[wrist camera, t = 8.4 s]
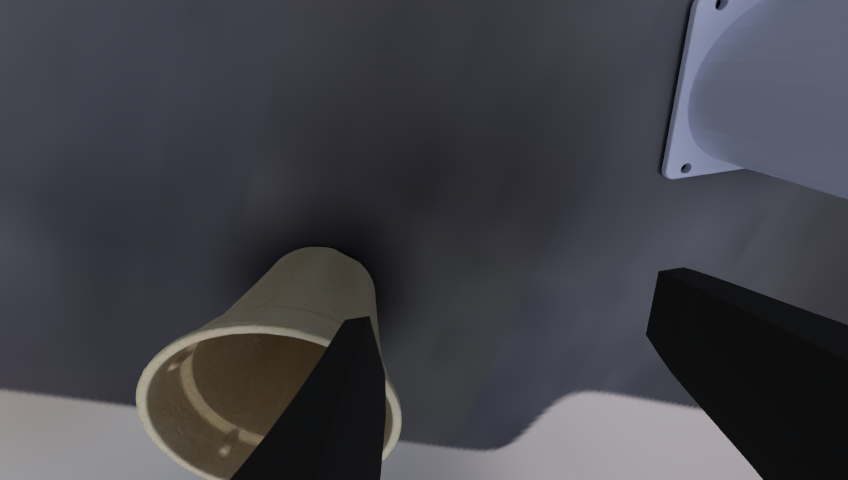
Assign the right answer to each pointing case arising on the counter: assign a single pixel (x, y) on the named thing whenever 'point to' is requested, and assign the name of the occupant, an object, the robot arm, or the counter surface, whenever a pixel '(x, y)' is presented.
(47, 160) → the counter surface
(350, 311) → the flower pot
